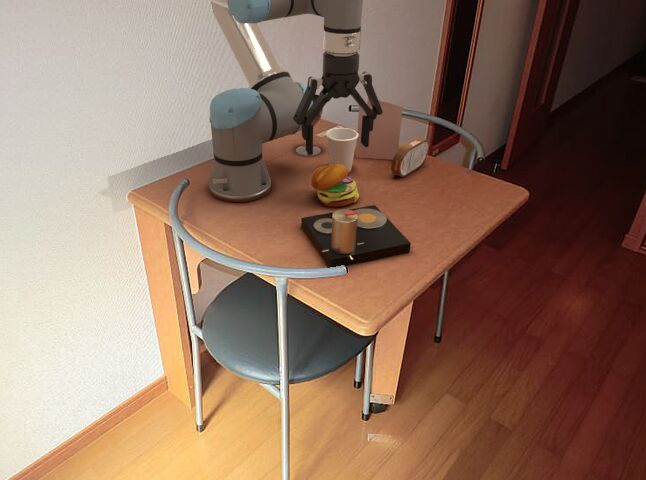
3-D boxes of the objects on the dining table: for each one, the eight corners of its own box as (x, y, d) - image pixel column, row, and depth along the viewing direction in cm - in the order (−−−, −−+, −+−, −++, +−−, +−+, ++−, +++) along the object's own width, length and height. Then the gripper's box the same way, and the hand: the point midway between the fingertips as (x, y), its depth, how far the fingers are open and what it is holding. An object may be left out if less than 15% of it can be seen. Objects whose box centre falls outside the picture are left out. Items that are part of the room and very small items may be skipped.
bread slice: (418, 160, 154) (422, 131, 149) (428, 163, 152) (432, 134, 147) (388, 178, 144) (391, 148, 139) (398, 182, 142) (402, 152, 137)
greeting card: (398, 159, 154) (404, 106, 145) (383, 167, 149) (388, 113, 141) (366, 147, 160) (369, 96, 151) (350, 155, 155) (353, 102, 147)
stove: (298, 227, 123) (298, 217, 122) (373, 214, 129) (374, 204, 127) (330, 274, 109) (330, 263, 108) (413, 256, 115) (414, 246, 113)
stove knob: (336, 256, 110) (338, 222, 105) (327, 243, 114) (328, 210, 109) (359, 251, 111) (362, 218, 107) (349, 238, 115) (351, 206, 111)
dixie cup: (361, 166, 150) (363, 131, 144) (347, 178, 143) (350, 142, 138) (333, 159, 153) (334, 125, 147) (319, 171, 147) (320, 135, 141)
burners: (307, 219, 121) (307, 218, 121) (376, 207, 126) (376, 205, 126) (321, 239, 115) (321, 237, 115) (393, 225, 120) (393, 223, 120)
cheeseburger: (356, 211, 129) (348, 173, 124) (313, 216, 132) (303, 178, 127) (362, 191, 137) (355, 154, 132) (321, 195, 140) (312, 159, 135)
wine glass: (327, 149, 158) (329, 97, 150) (312, 158, 153) (313, 105, 144) (304, 142, 162) (304, 91, 153) (288, 151, 156) (288, 99, 148)
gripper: (289, 61, 107) (290, 162, 119) (403, 51, 114) (393, 147, 127) (277, 51, 113) (279, 149, 125) (387, 43, 120) (379, 135, 132)
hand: (337, 148), depth 126 cm, fingers open, 13 cm apart
